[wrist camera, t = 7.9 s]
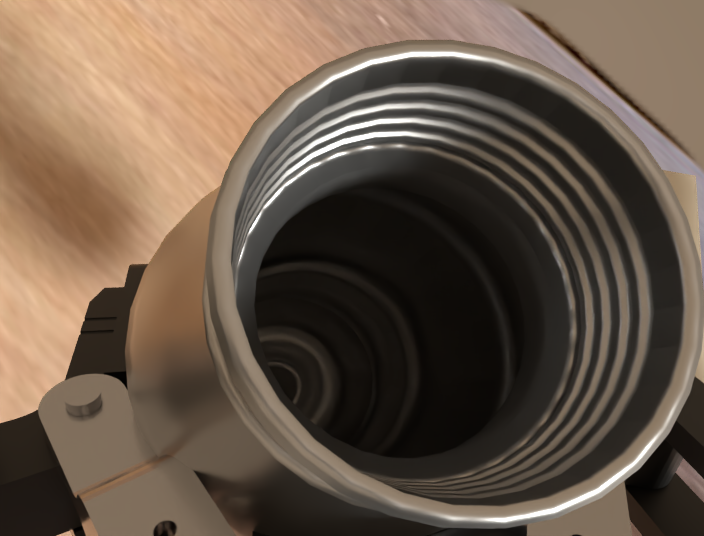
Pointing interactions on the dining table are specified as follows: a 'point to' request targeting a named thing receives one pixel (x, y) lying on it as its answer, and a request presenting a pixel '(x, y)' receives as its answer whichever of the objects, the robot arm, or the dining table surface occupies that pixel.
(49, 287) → the dining table surface
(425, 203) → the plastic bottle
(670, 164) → the dining table surface
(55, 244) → the dining table surface
